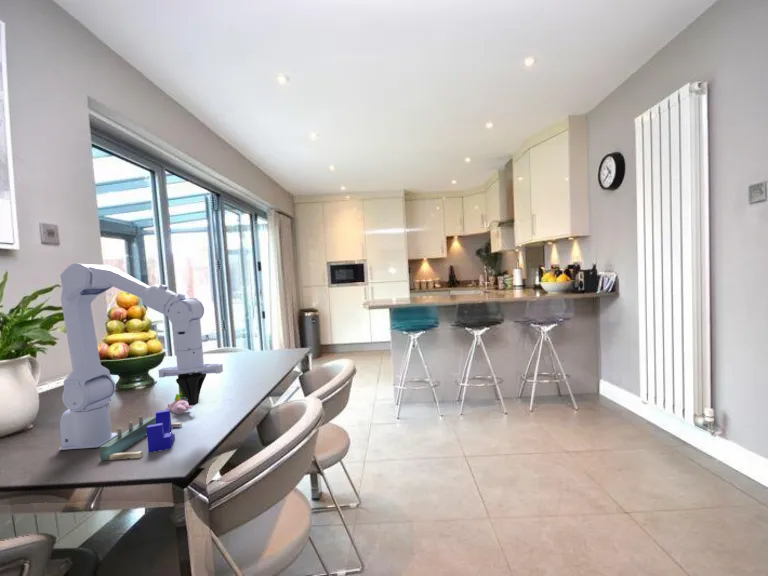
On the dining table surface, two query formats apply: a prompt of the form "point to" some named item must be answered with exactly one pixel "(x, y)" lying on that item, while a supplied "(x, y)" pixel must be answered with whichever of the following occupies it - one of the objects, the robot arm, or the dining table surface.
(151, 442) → the cable clip
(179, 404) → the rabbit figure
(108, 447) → the pin bay
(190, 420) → the dining table surface
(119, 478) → the dining table surface
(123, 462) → the dining table surface
